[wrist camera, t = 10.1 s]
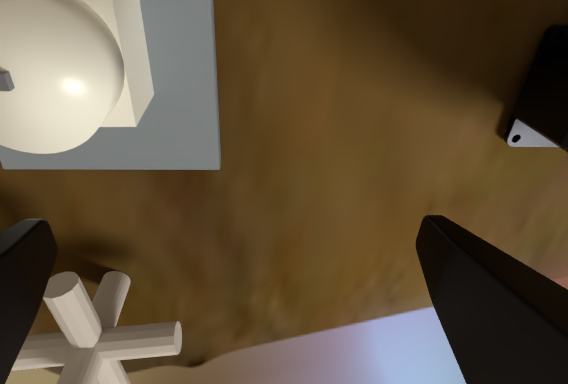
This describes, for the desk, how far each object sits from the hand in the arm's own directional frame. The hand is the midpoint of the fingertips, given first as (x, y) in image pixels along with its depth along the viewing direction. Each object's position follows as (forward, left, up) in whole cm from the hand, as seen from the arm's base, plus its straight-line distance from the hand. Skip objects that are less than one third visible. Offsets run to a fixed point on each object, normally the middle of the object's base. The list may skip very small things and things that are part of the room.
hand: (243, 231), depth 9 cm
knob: (+7, -2, -11) cm, 13 cm away
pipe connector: (+9, +14, -12) cm, 21 cm away
